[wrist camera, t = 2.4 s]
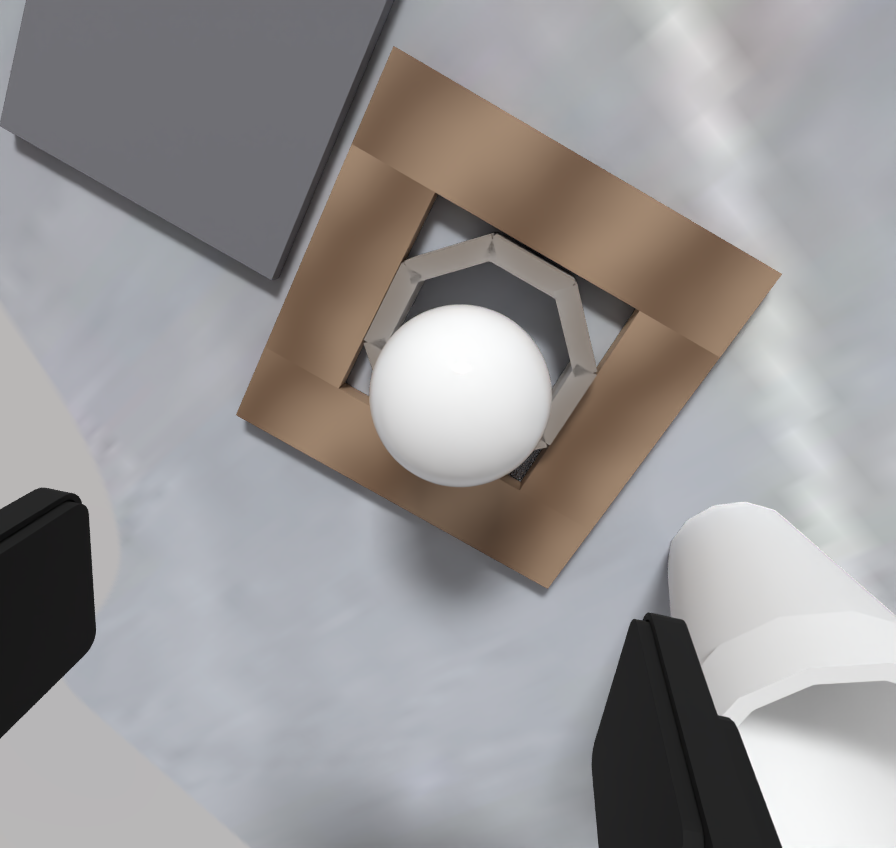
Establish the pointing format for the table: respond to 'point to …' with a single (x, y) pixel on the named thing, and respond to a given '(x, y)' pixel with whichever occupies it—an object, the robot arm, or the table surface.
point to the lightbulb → (460, 395)
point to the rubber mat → (196, 105)
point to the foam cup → (794, 671)
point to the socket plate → (546, 231)
